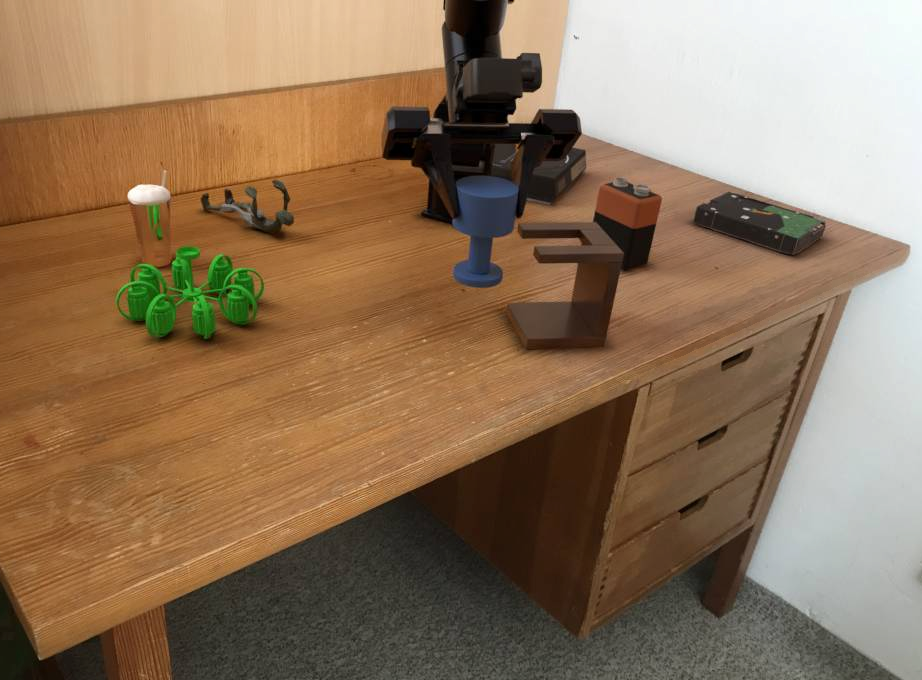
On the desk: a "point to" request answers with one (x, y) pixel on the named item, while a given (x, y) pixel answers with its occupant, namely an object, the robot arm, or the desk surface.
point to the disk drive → (760, 222)
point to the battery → (628, 218)
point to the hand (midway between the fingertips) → (487, 216)
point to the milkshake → (152, 222)
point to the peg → (483, 225)
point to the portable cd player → (542, 172)
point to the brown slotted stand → (591, 294)
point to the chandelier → (190, 294)
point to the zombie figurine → (254, 209)
